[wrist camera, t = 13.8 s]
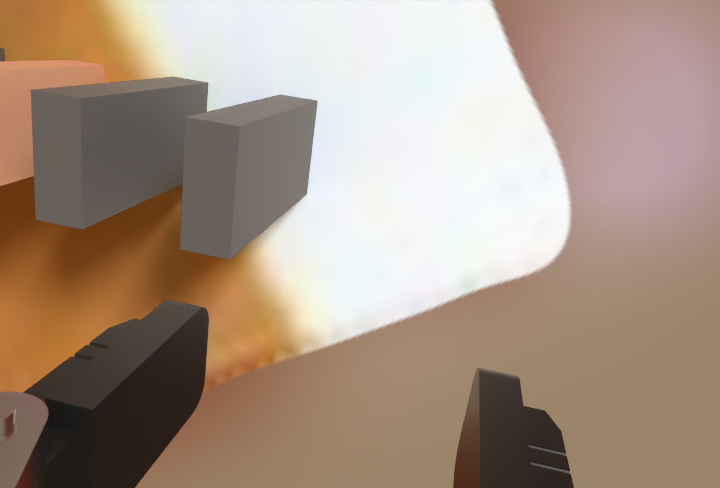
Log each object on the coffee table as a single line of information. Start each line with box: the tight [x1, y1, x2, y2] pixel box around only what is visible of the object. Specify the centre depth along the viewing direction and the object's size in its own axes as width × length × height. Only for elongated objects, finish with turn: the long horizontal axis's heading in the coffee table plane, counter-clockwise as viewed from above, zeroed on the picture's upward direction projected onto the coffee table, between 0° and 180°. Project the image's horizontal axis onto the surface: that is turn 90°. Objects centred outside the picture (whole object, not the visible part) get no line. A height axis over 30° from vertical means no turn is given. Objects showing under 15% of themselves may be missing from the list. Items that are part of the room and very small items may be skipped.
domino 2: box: [31, 77, 208, 230], centre depth 28 cm, size 2×5×11 cm, turn 171°
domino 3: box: [180, 95, 317, 260], centre depth 27 cm, size 2×5×11 cm, turn 171°
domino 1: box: [0, 60, 105, 186], centre depth 29 cm, size 2×5×11 cm, turn 171°
